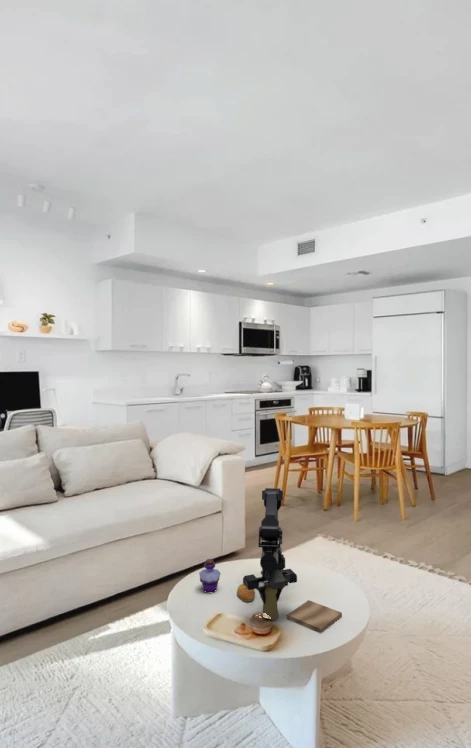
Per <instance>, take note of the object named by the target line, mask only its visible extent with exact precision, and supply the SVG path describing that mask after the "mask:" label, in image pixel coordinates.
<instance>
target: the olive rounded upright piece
mask: <svg viewBox="0 0 471 748" xmlns="http://www.w3.org/2000/svg"><path fill="white" fill-rule="evenodd" d="M263 586H264V587H265V588H266V589H265V604H263V603H262V609H261V613H262V612H263V613H266V614H267V615H269V616H270V617H271V619H272V620H276V619H278V618H279V617H280V615H279V608H278V607H279V606H278V602H277V598H276V594H277V589H275V590H274V589H272V588H271V586H270V584H269V583H267V584H266V583H265V584H263Z"/></svg>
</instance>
